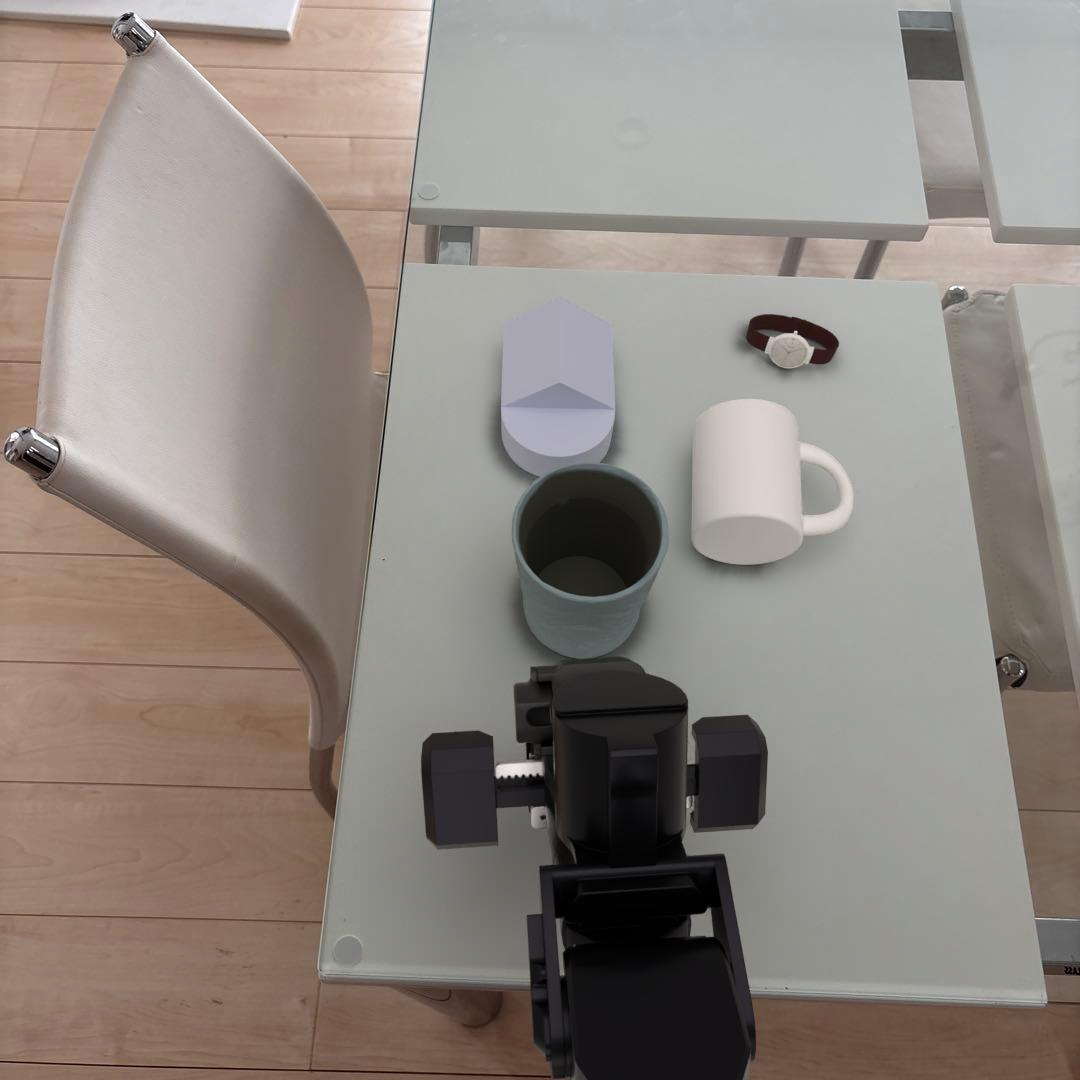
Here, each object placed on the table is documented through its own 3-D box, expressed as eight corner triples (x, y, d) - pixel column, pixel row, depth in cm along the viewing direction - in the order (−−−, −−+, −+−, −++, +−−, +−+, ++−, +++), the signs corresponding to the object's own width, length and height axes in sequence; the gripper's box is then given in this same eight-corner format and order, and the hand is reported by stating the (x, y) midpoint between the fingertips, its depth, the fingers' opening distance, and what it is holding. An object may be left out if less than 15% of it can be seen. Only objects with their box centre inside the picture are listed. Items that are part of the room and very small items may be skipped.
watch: (738, 358, 82) (747, 331, 79) (749, 318, 84) (758, 289, 81) (827, 381, 81) (840, 354, 78) (836, 340, 83) (849, 312, 80)
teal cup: (576, 695, 68) (588, 632, 57) (482, 598, 71) (477, 522, 60) (674, 607, 71) (703, 532, 61) (580, 518, 74) (592, 433, 64)
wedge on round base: (504, 348, 82) (499, 478, 76) (503, 294, 76) (498, 430, 70) (608, 350, 82) (612, 480, 76) (616, 296, 76) (621, 433, 70)
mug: (683, 560, 73) (701, 510, 66) (685, 451, 78) (702, 392, 70) (840, 574, 73) (875, 525, 66) (833, 464, 77) (865, 406, 70)
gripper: (812, 700, 44) (726, 585, 59) (404, 724, 43) (422, 600, 58) (799, 904, 47) (722, 746, 62) (421, 930, 46) (434, 763, 61)
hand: (578, 711), depth 61 cm, fingers closed
